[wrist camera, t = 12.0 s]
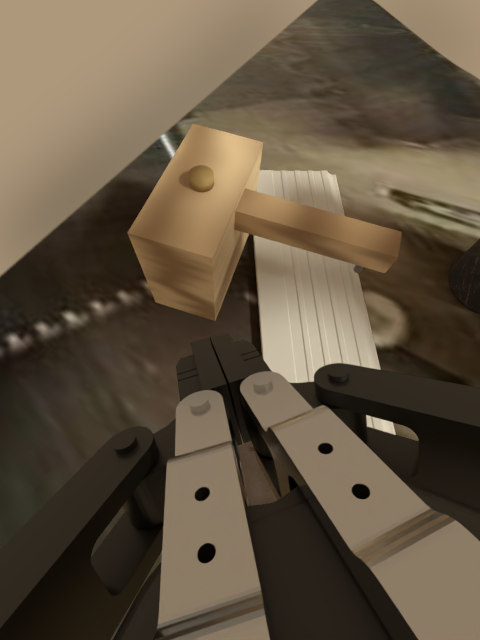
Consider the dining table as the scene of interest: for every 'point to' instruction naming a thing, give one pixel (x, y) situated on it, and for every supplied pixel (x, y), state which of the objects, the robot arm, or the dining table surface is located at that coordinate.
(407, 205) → the dining table surface
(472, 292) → the travel mug
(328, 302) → the baseboard
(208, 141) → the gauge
